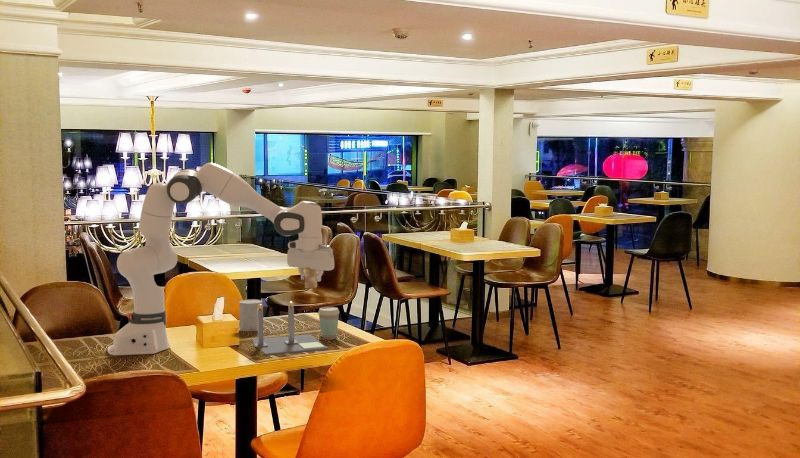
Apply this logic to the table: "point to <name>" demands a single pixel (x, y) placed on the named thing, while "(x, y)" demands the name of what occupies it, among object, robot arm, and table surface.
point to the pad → (311, 345)
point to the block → (310, 278)
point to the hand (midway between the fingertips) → (310, 280)
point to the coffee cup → (328, 322)
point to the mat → (279, 347)
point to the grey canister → (249, 314)
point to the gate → (290, 326)
